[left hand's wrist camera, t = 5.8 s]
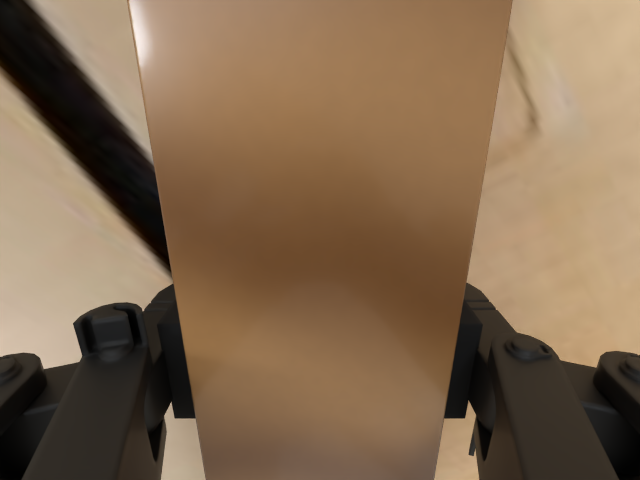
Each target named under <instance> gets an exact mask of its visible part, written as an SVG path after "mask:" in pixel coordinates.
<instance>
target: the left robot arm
mask: <svg viewBox="0 0 640 480" xmlns="http://www.w3.org/2000/svg"><path fill="white" fill-rule="evenodd" d="M73 325H74V328H75V332H76V335H77V339H78V342H79V346H80V349H81V352H82V358H81V360H80V362H77V363H73V364H68V365H63V366H58V367H53V368H48V369H43V366H42V363H41V360H40V358H39V357H38V356H36V355H35V354H31V353H18V354H10V355H6V356H3V357H0V480H161V473H162V465H163V457H164V449H165V441H166V433H167V431H166V424H165V419H164V415H165V413H166V411H167V409H168V407H169V405H170V403H171V401H172V406H173V412H174V417H175V418H196V417H195V411H194V405H193V398H192V392H191V386H190V380H189V374H188V368H187V362H186V356H185V350H184V344H183V338H182V332H181V325H180V319H179V313H178V307H177V301H176V295H175V289H174V284H172V285H170V286H168V287H167V288H165V289H163V290H162V291H160V292H159V293H158V294H157V295H156V296H155V298H154V299H153V300H152V301H151V303H149V305H148V306H147V307H146V308H145V309H144V311H143V312H142V308H141V307H139V306H138V305H137V304H133V303H127V302H126V303H113V304H108V305H104V306H101V307H98V308H95V309H93V310H90V311H88V312H87V313H85V314H83V315H82V316H80V317H79V318H78V319H77V320H76V321H75V322H74V323H73ZM468 400H469V402H470V404H471V406H472V408H473V410H474V412H475V414H476V419H475V424H474V429H473V434H472V439H471V443H470V449H469V455H471V456H474V452H475V448H476V456H477V464H478V472H479V480H640V355H637V354H634V353H627V352H620V351H612V352H606V353H604V354H603V355H601V356H600V359H599V362H598V365H597V368H595V367H590V366H585V365H580V364H575V363H570V362H565V361H561V360H560V359H559V357H558V355H557V354H556V353H555V352H554V350H553V349H552V348H551V347H549V346H548V345H547V344H545V343H544V342H542V341H540V340H538V339H536V338H534V337H531V336H528V335H524V334H520V333H517V332H516V331H515V330H514V329H513V328H512V327H511V325H510V324H509V323H508V322H507V321H506V320H505V318H504V317H503V316H502V315H501V314H500V313H499V311H498V310H496V308H495V307H494V306H493V304H492V303H491V302H489V300H488V299H487V297H486V296H485V295H484V294H483V293H482V292H481V291H480V290H479V289H477V288H475V287H474V286H472V285H470V284H469V283H466V287H465V293H464V299H463V305H462V312H461V318H460V324H459V330H458V336H457V342H456V348H455V354H454V360H453V366H452V372H451V379H450V385H449V391H448V397H447V403H446V409H445V415H444V418H465V416H466V410H467V405H468Z"/></svg>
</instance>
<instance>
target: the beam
mask: <svg viewBox="0 0 640 480" xmlns="http://www.w3.org/2000/svg"><path fill="white" fill-rule="evenodd" d="M512 1H513V0H127V3H128V9H129V15H130V21H131V27H132V33H133V40H134V46H135V52H136V58H137V64H138V70H139V76H140V82H141V88H142V94H143V100H144V106H145V113H146V119H147V125H148V131H149V137H150V143H151V149H152V155H153V161H154V167H155V173H156V179H157V186H158V192H159V198H160V204H161V210H162V216H163V222H164V228H165V234H166V240H167V246H168V252H169V259H170V265H171V271H172V277H173V283H174V289H175V295H176V301H177V307H178V313H179V319H180V325H181V332H182V338H183V344H184V350H185V356H186V362H187V368H188V374H189V380H190V386H191V392H192V398H193V405H194V411H195V417H196V423H197V429H198V435H199V441H200V447H201V453H202V459H203V465H204V471H205V478H206V480H434V476H435V470H436V464H437V458H438V452H439V446H440V439H441V433H442V427H443V421H444V415H445V409H446V403H447V397H448V391H449V385H450V379H451V372H452V366H453V360H454V354H455V348H456V342H457V336H458V330H459V324H460V318H461V312H462V305H463V299H464V293H465V287H466V281H467V275H468V269H469V263H470V257H471V251H472V245H473V238H474V232H475V226H476V220H477V214H478V208H479V202H480V196H481V190H482V184H483V178H484V172H485V165H486V159H487V153H488V147H489V141H490V135H491V129H492V123H493V117H494V111H495V105H496V98H497V92H498V86H499V80H500V74H501V68H502V62H503V56H504V50H505V44H506V38H507V31H508V25H509V19H510V13H511V7H512Z"/></svg>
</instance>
